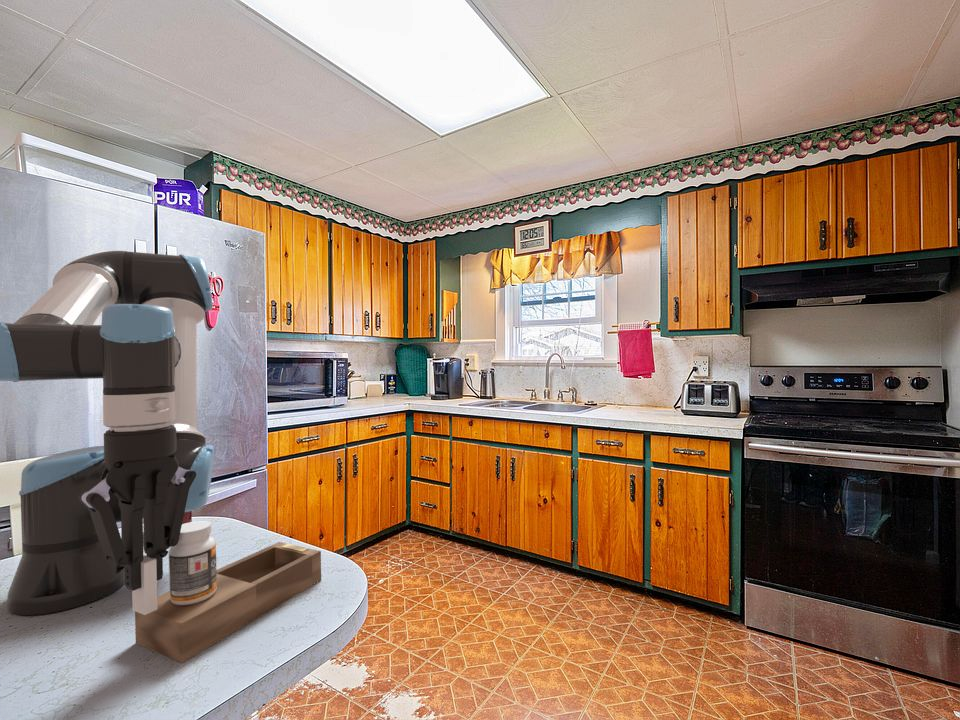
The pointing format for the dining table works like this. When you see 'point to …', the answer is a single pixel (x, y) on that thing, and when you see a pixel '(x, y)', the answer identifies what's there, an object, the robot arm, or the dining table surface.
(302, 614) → the dining table surface
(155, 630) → the brown wooden open box
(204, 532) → the pill bottle
